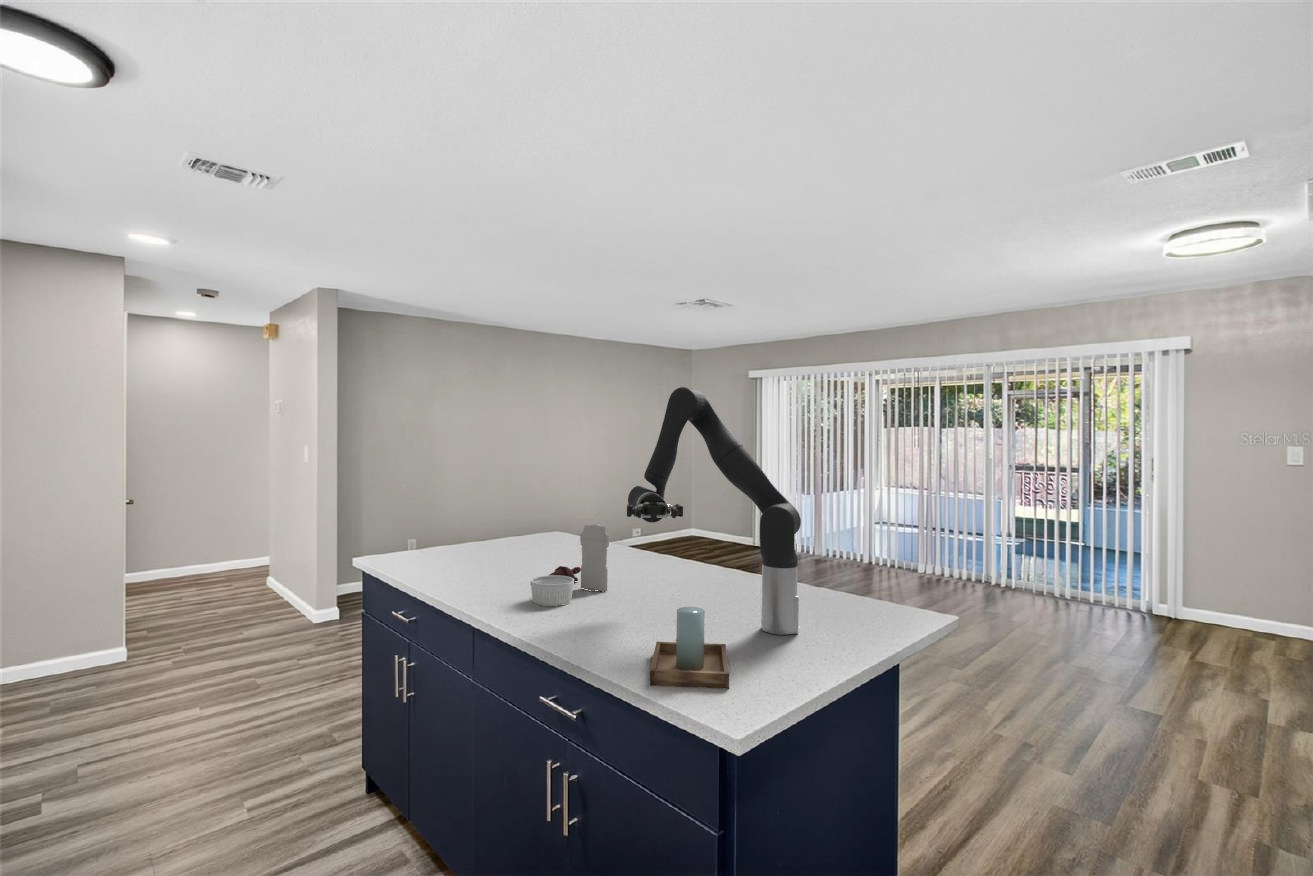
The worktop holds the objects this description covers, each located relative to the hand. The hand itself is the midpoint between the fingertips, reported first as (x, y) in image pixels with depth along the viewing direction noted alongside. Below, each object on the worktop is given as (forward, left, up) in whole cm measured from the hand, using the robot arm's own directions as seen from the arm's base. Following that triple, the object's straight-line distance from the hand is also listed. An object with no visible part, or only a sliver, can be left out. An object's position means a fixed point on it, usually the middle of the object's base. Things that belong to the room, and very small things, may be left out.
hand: (657, 513), depth 147 cm
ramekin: (+34, -36, -32) cm, 59 cm away
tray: (-9, +15, -32) cm, 36 cm away
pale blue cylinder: (-9, +15, -31) cm, 36 cm away
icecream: (+36, -57, -32) cm, 74 cm away
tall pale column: (+24, -52, -32) cm, 66 cm away
